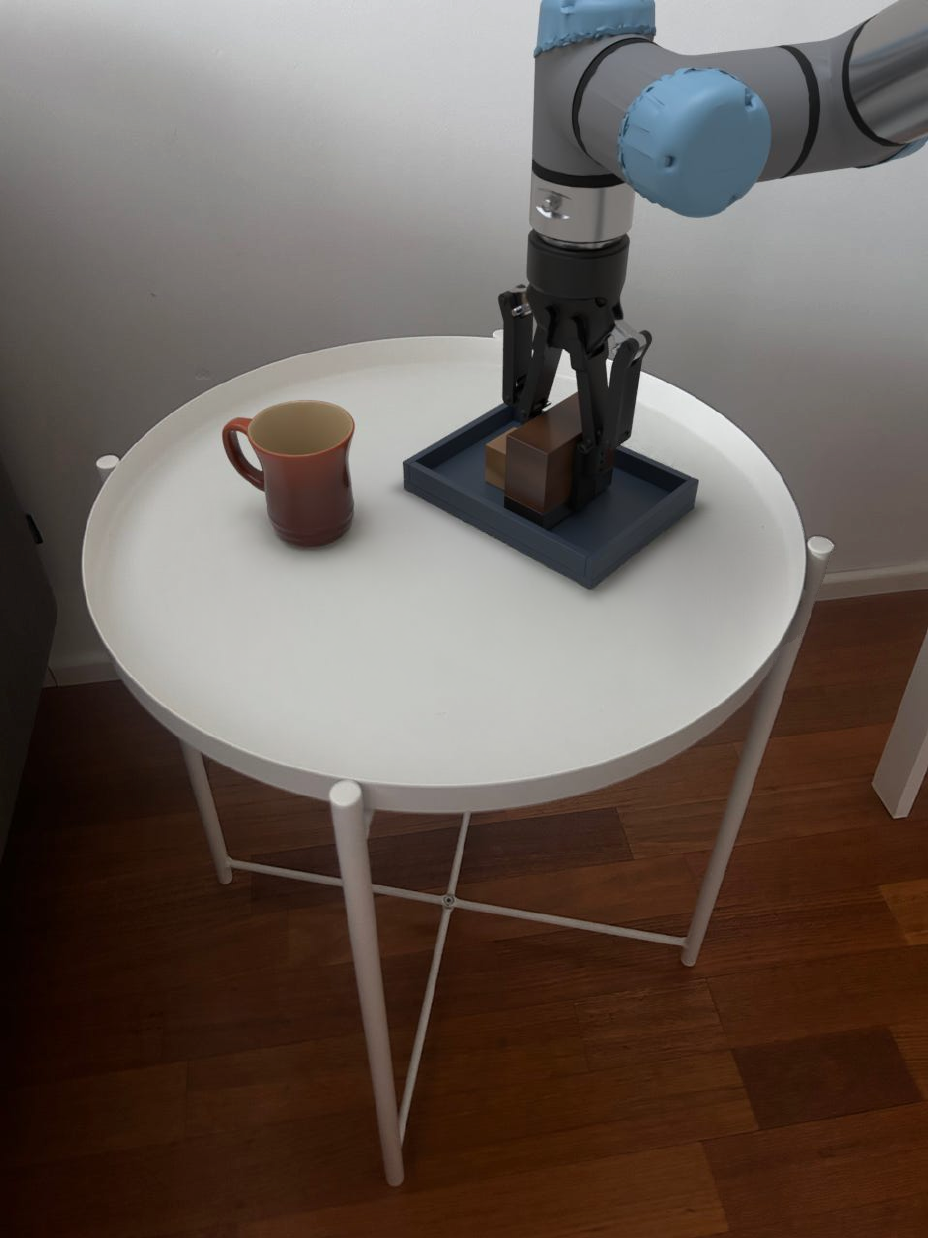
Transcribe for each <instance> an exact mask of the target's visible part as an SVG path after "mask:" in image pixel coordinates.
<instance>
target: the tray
mask: <svg viewBox="0 0 928 1238" xmlns="http://www.w3.org/2000/svg"><path fill="white" fill-rule="evenodd" d="M545 411H546V410H544V409H543V410H542V413H543V412H545ZM520 426H521V417H520V416H519V414H518V410H517V409H516V408H515V407H514V406H513V405H511V406H507V405H506V404H505V403H504V402H502V403H500V404H498V405H496V406H495V407H493V408H492V409H490V410H489V411H486V412H485V413H483V414H481V415H480V416H478V417H476V418H474V419H472V420H471V421H469V422H467V423H466V424H464V425H462V426H461V427H459V428H457V429H456V430H454V431H452V432H451V433H449V434H447V435H446V436H444V437H442V438H441V439H439V440H437V441H435V442H434V443H432V444H430V445H428V446H427V447H425V448H423V449H421V450H420V451H418V452H417V453H415V454H413V455H412V456H410V457H408V458H406V459H405V460H403V461H402V473H403V474H402V475H403V489H404V490H406V491H408V492H409V493H411V494H413V495H415V496H417V497H419V498H421V499H423V500H425V501H426V502H428V503H430V504H431V505H434V506H435V507H437V508H440V509H441V510H442V511H445V512H447V513H448V514H451V515H452V516H453V517H456V518H458V519H459V520H462V521H463V522H465V523H467V524H469V525H470V526H472V527H474V528H476V529H478V530H480V531H482V532H483V533H485V534H487V535H489V536H491V537H493V538H495V540H498V541H500V542H502V543H504V544H506V545H507V546H509V547H511V548H513V549H515V550H517V551H518V552H520V553H522V554H524V555H525V556H527V557H529V558H531V559H533V560H535V561H537V562H539V563H541V564H542V565H544V566H546V567H547V568H550V569H551V570H554V571H555V572H557V573H559V574H560V575H562V576H564V577H566V578H568V579H570V580H571V581H574V582H575V583H577V584H579V585H581V586H582V587H584V588H587V589H588V590H590V591H592V590H593V589H594V588H596V586H598V585H599V584H600V583H602V582H603V581H604V580H605V579H606V578H608V577H609V576H610V575H612V574H613V573H614V572H615V571H617V570H618V569H619V568H620V567H621V566H623V565H624V564H626V563H627V562H628V561H629V560H630V559H632V558H633V557H634V556H635V555H637V554H638V553H639V552H640V551H642V550H643V549H644V548H645V547H647V545H649V544H651V543H652V542H653V541H654V540H655V539H657V538H658V537H659V536H660V535H661V534H663V533H664V532H665V531H666V530H668V529H669V528H671V526H673V525H675V523H676V522H678V521H679V520H680V519H681V518H683V517H685V515H686V514H688V513H689V512H690V511H692V510H693V509H694V508H695V504H696V499H697V494H698V490H699V483H700V479H698V478H695V477H693V476H691V475H689V474H686V473H684V472H683V471H681V470H678V469H676V468H674V467H671V466H669V465H667V464H664V463H662V462H660V461H658V460H655V459H653V458H651V457H649V456H647V455H644V454H642V453H639V452H637V451H636V450H633V449H631V448H628V447H626V446H624V445H622V444H621V445H619V446H618V447H616V448H615V456H614V464H613V474H612V482H611V485H609V486H608V487H607V488H605V489H604V490H602V491H601V492H600V493H598V494H597V495H596V496H595V499H594V500H593V501H591V502H590V503H588V504H587V505H586V506H584V507H583V508H581V509H580V510H579V511H577V512H574V511H573V512H572V513H570V514H569V515H568V516H566V517H565V518H563V519H562V520H561V521H559V522H558V523H556V524H555V525H554V526H552V527H551V528H549V529H548V530H546V529H544V528H542V527H540V526H538V525H536V524H534V523H532V522H530V521H528V520H526V519H525V518H523V517H521V516H519V515H517V514H515V513H513V512H511V511H509V510H507V509H505V508H504V495H505V494H504V491H503V490H501V489H500V488H498V487H496V486H494V485H492V484H490V483H488V482H486V481H485V465H486V444H487V443H489V442H491V441H492V440H494V439H496V438H497V437H499V436H500V435H502V434H504V433H505V432H507V431H509V430H510V429H512V428H514V427H516V428H519V427H520Z"/></svg>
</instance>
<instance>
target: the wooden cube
mask: <svg viewBox="0 0 928 1238" xmlns="http://www.w3.org/2000/svg"><path fill="white" fill-rule="evenodd" d="M515 429H517V428H516V427H514V428H512V429H510V430H509V431H507V432H505V433H504V434H502V435H500V436H499V437H497V438H496V439H494V440H492V441H491V442H489V443H487V444H486V465H485V481H486V482H488V483H490V484H492V485H494V486H496V487H498V488H500V489H501V490H503V491H504V489H505V460H506V435H507V434H509V433H510V432H512V431H514V430H515Z"/></svg>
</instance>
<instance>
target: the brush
mask: <svg viewBox="0 0 928 1238" xmlns="http://www.w3.org/2000/svg"><path fill="white" fill-rule="evenodd" d="M544 411H545V412H543V413H541V414H540V415H538V416H537V417H535V418H533V419H532V420H530V421H528V422H527V423H525V424H523V425H522V426H520V427H519V428H517V429H515V430H514V431H512V432H510V433H509V434H507V435H506V460H505V489H504V494H505V495H504V508H505V509H507V510H509V511H511V512H513V513H515V514H517V515H519V516H521V517H523V518H525V519H526V520H528V521H530V522H532V523H534V524H536V525H538V526H540V527H542V528H544V529H546V530H548V529H549V528H551V527H552V526H554V525H555V524H556V523H558V522H559V521H561V520H562V519H563V518H565V517H566V516H568V515H569V514H570V513H572V512H573V511H572V510H570V509H569V506H570V495H571V483H572V472H573V461H574V449H575V445H576V444H578V443H579V442H581V441H582V440H583V435H582V426H581V417H580V408H579V398H578V390H577V391H576V392H574V393H573V394H572V393H571V395H569V396H568V397H566V398H564V399H563V400H561V401H560V402H558V403H556V404H555V405H552V406H551V407H549V408H548V409H546V410H544ZM614 456H615V449H613V450H612V451H607V458H606V464H605V465H606V467H605V471H604V473H603V474H602V475H601V476H599V477H598V478H597V482H596V491H595V496H596V495H597V494H598V493H600V492H601V491H602V490H604V489H605V488H607V487H608V486H609V485H611V482H612V474H613V464H614Z"/></svg>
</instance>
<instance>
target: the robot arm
mask: <svg viewBox="0 0 928 1238" xmlns="http://www.w3.org/2000/svg"><path fill="white" fill-rule="evenodd" d="M537 25H538V27H537V37H536V46H535V48H534V50H533V59H534V79H533V80H534V81H533V108H532V109H533V111H532V139H531V140H532V142H531V143H532V144H531V170H530V171H531V173H530V190H529V191H530V194H529V212H528V213H529V215H528V222H529V225H530V227H531V228H532V229H531V230H530V231H529V233H528V235H527V247H526V248H527V249H526V268H525V269H526V271H525V273H526V280H527V282H528V285H527V286H526V285H525V284H523V283H519V284H518V285H516V286H514V287H512V288H509V289H508V290H506V291H503V292H501V293H500V294H498V296H497V302H498V306H499V311H500V314H501V318H502V371H501V372H502V376H501V377H502V379H501V380H502V381H501V399H502V403H505V404H506V405H507V406H511V405H513V406H514V407H515V408H516V409H517V410H518V414H519V416H520V417H521V426H522V425H523V424H525V423H527V422H528V421H530V420H532V419H533V418H535V417H537V416H538V415H540V414H541V413H542V410H544V409H546V408H548V407H549V406H551V405H552V402H550V401H549V398H550V394H551V391H552V388H553V384H554V381H555V378H556V374H557V371H558V368H559V364H560V360H561V357H562V354H563V350H564V351H565V352H566V353H568V354H569V361H570V362H569V363H570V367H571V369H572V371H575V378H576V380H575V381H576V387H577V391H578V398H579V408H580V417H581V426H582V435H583V440H582V441H581V442H579V443H578V444H576V445H575V449H574V461H573V472H572V483H571V495H570V506H569V509H570V510H572V511H574V512H577V511H579V510H580V509H581V508H583V507H584V506H586V505H587V504H588V503H590V502H591V501H593V500H594V499H595V491H596V482H597V478H598V477H599V476H601V475H602V474H603V473H604V471H605V467H606V465H605V464H606V458H607V451H612V450H613V449H615V448H616V447H618V446H619V445H622V444H624V443H625V442H627V441H628V440H630V439H631V437H632V432H633V426H634V420H635V419H634V418H635V413H636V406H637V405H636V404H637V398H638V391H639V385H640V377H641V371H642V365H643V359H644V356H646V353H647V352H648V349H649V348H650V346H651V344H652V342H653V336H652V333H651V332H650V331H649V330H647V329H643V330H640V331H636V330H635V329H634V328H633V327H632V326H631V325H630V324H628V322H626V321H625V320H624V318H625V317H624V316H625V315H624V310H623V307H622V302H621V295H622V291H623V289H624V286H625V283H626V280H627V279H626V278H627V269H628V262H629V252H630V243H631V238H630V237H629V235H628V233H629V231H630V230H631V229H632V227H633V220H634V211H635V203H636V202H635V201H636V193H637V194H638V195H639V196H640V197H641V198H642V199H647V201H648V202H650V203H651V204H658V205H659V206H660V207H661V208H664V209H667V210H670V212H671V211H672V212H673V213H675V214H677V215H679V216H682V217H686V218H693V219H702V218H703V219H704V218H710V217H713V216H716V215H719V214H721V213H722V212H724V211H726V209H727V208H729V207H731V205H733V204H734V203H735V202H737V201H739V200H742V199H743V198H744V197H745V196H746V195H747V194H748V193H750V191H751V190H752V188H753V187H754V186H755V184H758V183H764V182H770V181H774V180H782V179H786V178H789V177H796V176H803V175H811V174H817V173H824V172H831V171H838V170H844V169H851V168H852V169H859V170H860V169H868V168H872V167H876V166H880V165H883V164H887V163H889V162H892V161H894V160H899V159H904V158H906V157H910V156H911V155H913V154H915V153H916V152H919V150H921V149H922V148H923V147H924V146H925V145H926V143H928V0H897V1H895V2H893V3H892V4H890V5H888V6H886V7H885V8H883V9H881V10H880V11H879V12H878V13H876V14H875V15H873V16H871V17H869V18H867V19H865V20H863V21H862V22H860V23H858V24H857V25H855V26H853V27H852V28H850V29H847V30H846V31H844V32H843V33H840V34H838V35H836V36H834V37H830V38H827V39H822V40H815V41H808V42H800V43H791V44H782V45H776V46H775V45H774V46H768V47H767V46H766V47H759V48H757V47H756V48H747V49H738V50H731V51H730V50H728V51H721V52H720V51H719V52H711V53H702V54H681V53H678V52H675V51H673V50H670V49H667V48H665V47H662V46H661V45H659V44H658V43H656V42H654V39H655V37H657V26H656V1H655V0H541V1H540V4H539V14H538V24H537ZM534 320H535V323H536V328H535V331H534ZM611 337H612V338H613V346H612V347H611V349H610V348H609V347H610V346H609V339H610V338H611ZM610 352H611V355H613V356H614V357H613V359H612V362H611V365H610V372H609V380H608V369H607V361H608V358H609V356H610Z"/></svg>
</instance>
